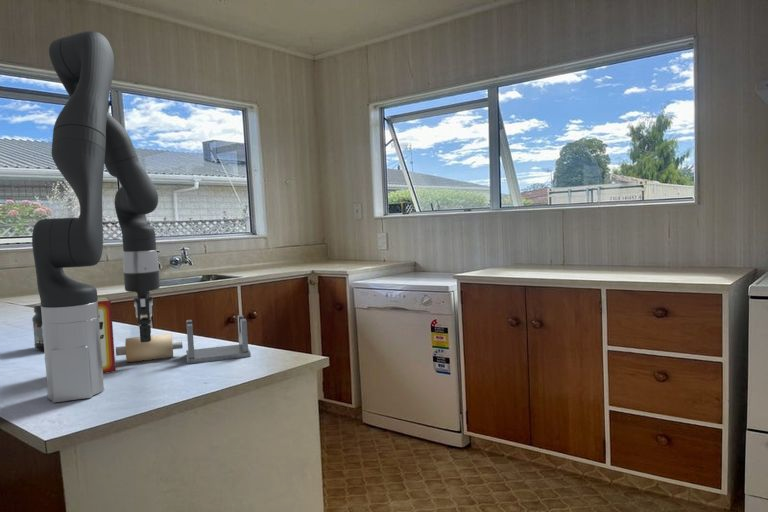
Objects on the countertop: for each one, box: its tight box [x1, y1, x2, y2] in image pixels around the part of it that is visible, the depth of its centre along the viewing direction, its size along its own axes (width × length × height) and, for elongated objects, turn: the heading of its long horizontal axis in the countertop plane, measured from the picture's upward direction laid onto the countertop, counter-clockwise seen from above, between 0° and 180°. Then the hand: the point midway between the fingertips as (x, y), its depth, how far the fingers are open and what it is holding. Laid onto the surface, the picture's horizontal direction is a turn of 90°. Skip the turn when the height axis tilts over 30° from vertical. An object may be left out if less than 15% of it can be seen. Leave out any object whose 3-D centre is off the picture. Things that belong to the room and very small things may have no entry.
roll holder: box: [186, 314, 252, 365], centre depth 128 cm, size 10×14×8 cm
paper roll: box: [115, 333, 183, 363], centre depth 127 cm, size 14×6×6 cm, turn 111°
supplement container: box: [31, 302, 44, 352], centre depth 144 cm, size 10×10×12 cm
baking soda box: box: [98, 296, 117, 374], centre depth 117 cm, size 10×6×16 cm
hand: (145, 338), depth 127 cm, fingers open, 8 cm apart
